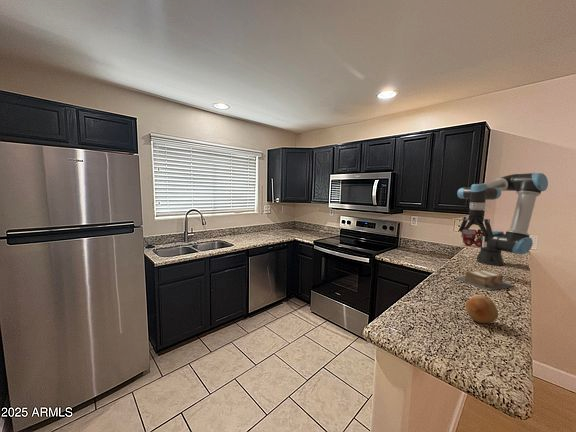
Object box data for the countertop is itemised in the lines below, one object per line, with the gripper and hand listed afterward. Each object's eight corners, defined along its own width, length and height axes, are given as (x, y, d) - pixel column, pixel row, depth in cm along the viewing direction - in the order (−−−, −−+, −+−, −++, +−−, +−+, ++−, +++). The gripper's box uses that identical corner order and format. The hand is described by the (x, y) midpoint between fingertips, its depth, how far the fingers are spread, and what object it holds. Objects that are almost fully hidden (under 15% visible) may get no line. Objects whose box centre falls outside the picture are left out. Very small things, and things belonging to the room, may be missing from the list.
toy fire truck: (487, 247, 142) (487, 230, 142) (461, 245, 150) (461, 229, 150) (487, 246, 147) (487, 229, 147) (462, 244, 156) (462, 228, 155)
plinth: (482, 278, 141) (482, 269, 140) (501, 284, 132) (502, 275, 131) (465, 280, 136) (466, 271, 136) (484, 287, 127) (485, 277, 126)
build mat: (478, 275, 147) (478, 274, 147) (514, 286, 130) (514, 285, 130) (455, 278, 141) (455, 277, 141) (489, 290, 124) (489, 289, 124)
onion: (464, 312, 101) (467, 289, 100) (496, 320, 95) (498, 296, 94) (463, 321, 93) (465, 297, 92) (497, 331, 87) (500, 305, 86)
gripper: (453, 208, 157) (451, 241, 159) (494, 211, 134) (491, 249, 137) (461, 208, 159) (459, 240, 161) (503, 210, 137) (499, 248, 139)
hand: (473, 244), depth 149 cm, fingers closed on toy fire truck, 11 cm apart
